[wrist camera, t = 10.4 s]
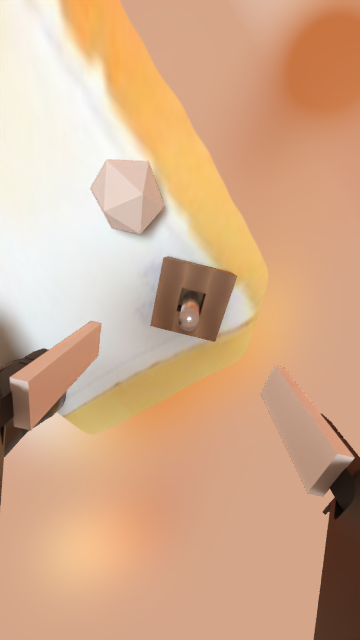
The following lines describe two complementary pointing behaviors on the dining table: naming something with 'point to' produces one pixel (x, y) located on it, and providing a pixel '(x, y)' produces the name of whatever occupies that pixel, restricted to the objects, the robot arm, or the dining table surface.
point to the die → (127, 194)
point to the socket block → (209, 288)
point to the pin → (189, 312)
